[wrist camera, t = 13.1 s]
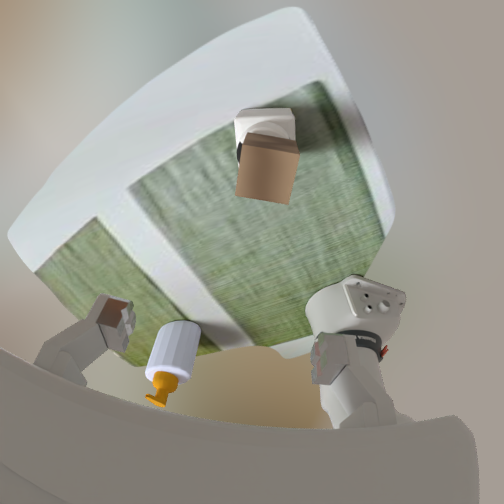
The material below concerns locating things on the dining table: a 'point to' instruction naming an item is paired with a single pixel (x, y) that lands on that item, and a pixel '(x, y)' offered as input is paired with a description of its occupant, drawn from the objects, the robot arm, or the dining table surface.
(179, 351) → the soap bottle
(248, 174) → the walnut cube
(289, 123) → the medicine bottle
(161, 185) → the dining table surface
